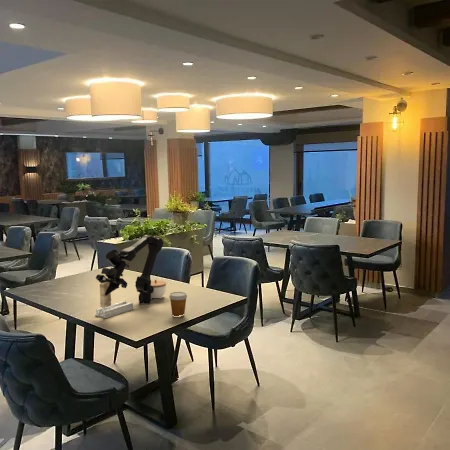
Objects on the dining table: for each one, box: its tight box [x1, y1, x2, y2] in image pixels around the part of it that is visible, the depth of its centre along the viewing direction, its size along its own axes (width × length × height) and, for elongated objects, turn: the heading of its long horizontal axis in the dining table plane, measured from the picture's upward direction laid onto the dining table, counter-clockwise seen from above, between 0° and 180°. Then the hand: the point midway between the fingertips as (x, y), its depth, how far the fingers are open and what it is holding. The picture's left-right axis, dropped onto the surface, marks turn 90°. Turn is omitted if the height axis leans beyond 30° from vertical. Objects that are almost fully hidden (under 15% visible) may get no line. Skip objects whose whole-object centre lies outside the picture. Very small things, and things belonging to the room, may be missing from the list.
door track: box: [95, 300, 135, 319], centre depth 253 cm, size 20×8×4 cm, turn 144°
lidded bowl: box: [151, 279, 167, 299], centre depth 281 cm, size 13×13×11 cm
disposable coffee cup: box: [168, 291, 188, 316], centre depth 247 cm, size 10×10×12 cm
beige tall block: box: [99, 282, 112, 308], centre depth 244 cm, size 5×3×12 cm, turn 148°
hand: (103, 294), depth 242 cm, fingers closed on beige tall block, 3 cm apart
